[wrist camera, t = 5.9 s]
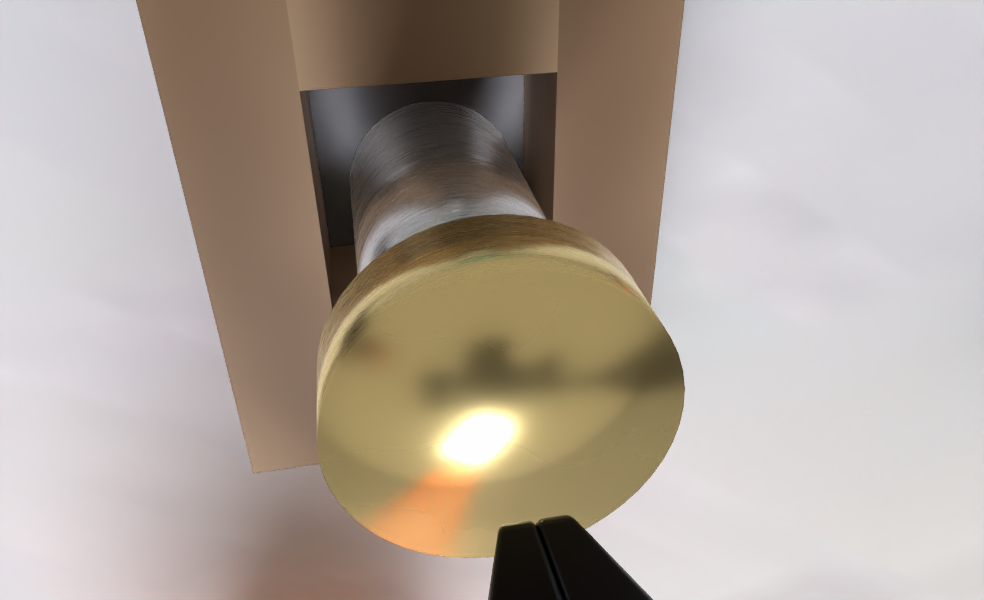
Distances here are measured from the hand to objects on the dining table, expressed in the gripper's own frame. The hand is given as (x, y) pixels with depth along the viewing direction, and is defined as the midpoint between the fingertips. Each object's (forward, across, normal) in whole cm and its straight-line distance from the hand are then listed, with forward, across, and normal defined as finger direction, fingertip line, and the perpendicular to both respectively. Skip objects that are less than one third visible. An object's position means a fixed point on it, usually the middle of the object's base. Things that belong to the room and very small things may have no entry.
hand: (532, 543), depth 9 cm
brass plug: (+10, 0, 0) cm, 10 cm away
